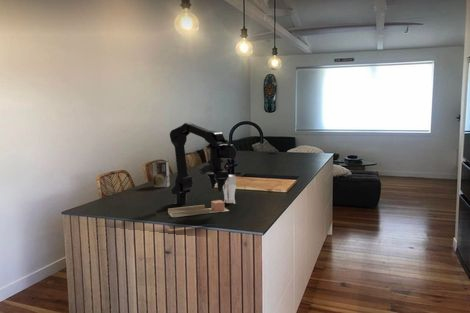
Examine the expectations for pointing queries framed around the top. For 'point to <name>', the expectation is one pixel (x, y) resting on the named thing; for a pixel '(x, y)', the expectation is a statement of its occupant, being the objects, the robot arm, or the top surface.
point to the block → (217, 205)
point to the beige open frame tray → (191, 211)
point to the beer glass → (229, 189)
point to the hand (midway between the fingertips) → (216, 189)
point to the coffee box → (161, 173)
